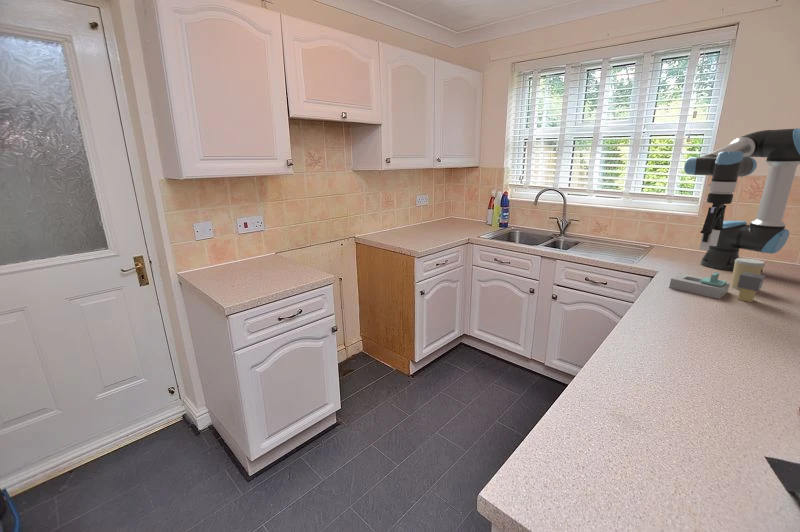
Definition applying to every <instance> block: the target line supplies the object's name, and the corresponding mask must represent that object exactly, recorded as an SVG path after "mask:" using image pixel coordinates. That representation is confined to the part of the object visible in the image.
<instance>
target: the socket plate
mask: <svg viewBox="0 0 800 532" xmlns="http://www.w3.org/2000/svg"><path fill="white" fill-rule="evenodd" d="M703 278H704V277H702V276H696V275H691V274H687V273H681V272H680V273H678V274H676V275H675V276H673V277H671V278H670V282H669V287H668V288H671V289H674V290H679V291H683V292H688V293H692V294H696V295H697V294H698V295H701V296H706V297H709V298H714V299H719V300H720V299H722V298H723V297H724V296H725V295H726V294H728V292H729V290H730V289H729V288H730V287H731V282H728V281H727V283H726V284H725V285H723V286H722V287H721V286H716V285H711V284H706V283H701V282H700V280H702V279H703Z"/></svg>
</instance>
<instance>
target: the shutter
mask: <svg viewBox="0 0 800 532" xmlns="http://www.w3.org/2000/svg"><path fill="white" fill-rule="evenodd" d="M719 275H720V272H717V271H714V273H711V274H710V277H708V276H707V277H706V276H705V277H702V278H703V279H702V280H700V282H701V283H706V284H711V285H716V286H721V287H722V286H723V285H725V284H726V283H727V282H728V281H726V280H723V279H719Z"/></svg>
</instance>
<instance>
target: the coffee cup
mask: <svg viewBox="0 0 800 532" xmlns="http://www.w3.org/2000/svg"><path fill="white" fill-rule="evenodd" d="M765 266H766V263H765V261H763V260H760V259H755V258H750V257H749V258H747V257H739V258H737V259H736V260H735V264H734V269H733V270H732V277H731V282H730V287H731V288H733V289H737V290H739V291H740V290H741V288H739V287H737V286H738V282H739V278H740V275H741V274H742V273H743V272H747V273H753V274H759V275H762V273H763V270H764V267H765Z"/></svg>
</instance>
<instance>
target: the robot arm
mask: <svg viewBox="0 0 800 532" xmlns="http://www.w3.org/2000/svg"><path fill="white" fill-rule="evenodd" d="M755 158H766V160H765V163H766V164H768V166H769V167H768V170H767V174H766V179H765V183H764V187H763V190H762V194H761V197H760V201H759V205H758V209H757V212H756V213H757V214H756V218H755V219H753V220H752V221H750V222H749V224H747V223H748V222H747V221H746V220H724V219H725V212H726V208H727V205H729V204H732V202H733V198H734V193H735V191H736V187H737V183H738V182H737V181H738V178H739V177H741V178H743V177H747V176H749V175H751V174H753V173H754V172H755V170H756V169H757V165H758V164H757V161H756V160H755ZM799 165H800V128H798V127H797V128H783V129H764V130H760V131H755V132H751V133H748V134H745V135H741V136H740V137H737V138H736V139H733V141H731V142H730V143H729V144H727V145H725V146H723V147H721V148H718V149H717V150H714V151H712V152H708V153H707V154H705V155H703V156H691V157H688V158H687V159H686V160H685V163H684V168H683V170H684V173H685V174H686V175H691V176H712V177H711V182H710V183H709V184H708V186H709V190H708V191H709V193H708V194H707V198H706V202H707V203H709V204H712V205H711V207H708V210H707V213H706V214H707V215H706V217H705V221H704V224H703V226H702V229H701V230H700V232H699V233H700V234H702V235H701V239H700V242H699V243H700V244H699V250H700V251H706V252H705V254H704V255H703V256H702V258H701V260H700V265H702V266H704V267H707V268H711V269H717V270H725V271H733V269H734V264H735V260H736V259H737V258H740V256H739V253H740V249H741V250H747V251H752V252H758V253H761V254H764V253H765V254H769V255H770V254H777V253H779V251H781V250H782V248H784V246H785V245H786V243H787V241H788V239H789V237H790V230H789V229H786V223H784V222H783V219H784V213H785V211H786V207H787V203H788V200H789V196H790V192H791V189H792V186H793V181H794V178H795V175H796V172H797V167H798V166H799Z"/></svg>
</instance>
